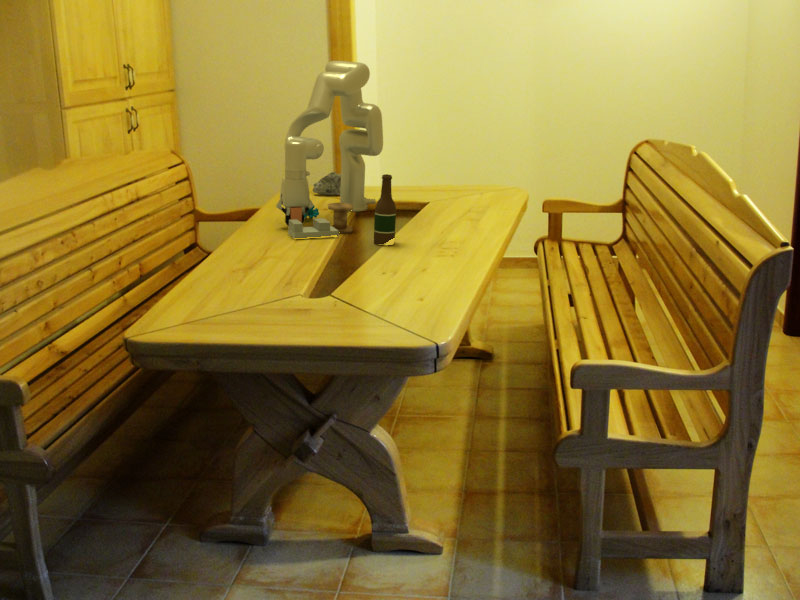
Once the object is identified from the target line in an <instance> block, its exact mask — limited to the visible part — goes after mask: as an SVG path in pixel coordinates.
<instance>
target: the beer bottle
mask: <svg viewBox="0 0 800 600" xmlns="http://www.w3.org/2000/svg"><path fill="white" fill-rule="evenodd" d="M381 179H382V181H381V189H380V197H379V198H378V200H377V201H376V203H375V210H374V219H373V221H374V222H373V224H374V225H373V244H374V243H375V244H374V245H376V244H384V243H386V242H388V241H389V240H391V239H393V238H395V239H396V223H397V221H396V220H397V206H396V203H395V201H394V199H393V195H392V179H393V175H391V174H382V175H381Z"/></svg>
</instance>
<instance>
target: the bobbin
mask: <svg viewBox="0 0 800 600" xmlns="http://www.w3.org/2000/svg"><path fill="white" fill-rule="evenodd" d="M327 206H328V207H327V208H328V210H331V211H333V220H332V221H333V223H332V224H330V226H333V227H334V228H335V229H337V230H338V231H339V232H340V234H339V235H343V234H351V233H352V232H353V227H352V226H351V225H348V212H352V211H351V210H353V205H352V204H348V203H340V202H331V203H328V204H327Z"/></svg>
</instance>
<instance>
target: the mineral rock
mask: <svg viewBox="0 0 800 600" xmlns="http://www.w3.org/2000/svg"><path fill="white" fill-rule="evenodd" d="M312 186H313V188H312V192H313V193H314V194H318V195H323V196H333V195H335V196H337V195H338V196H340V193H341V173H337V172H336V171H332V172H329V173H328V174H327V175H325V176H323V177H322V178H320V179H319V180H318V181H317V182H315V183H313V185H312Z"/></svg>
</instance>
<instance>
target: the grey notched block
mask: <svg viewBox="0 0 800 600" xmlns="http://www.w3.org/2000/svg"><path fill="white" fill-rule="evenodd" d="M312 219H313V224H312V225H313V226H304V223H303V224H302V223H301V222H300V221H299V220H297V219H294V220H289V228H288V227H287V231H288V232H287V233H288V234H289V235H290V236H292V237H293V238H307V237H321V236H331V235H337V236H338V238H339V235H340V234H339V231H338V230H337V229H335V228H334V227H333V226H330V225H331V221H329V220H327V219H326V218H324V217H321V218H320V217H319V218H317V217H316V218H312ZM288 234H287V235H288ZM289 235H288V236H289ZM290 236H289V237H290ZM292 237H291V238H292ZM293 238H292V239H293Z"/></svg>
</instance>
